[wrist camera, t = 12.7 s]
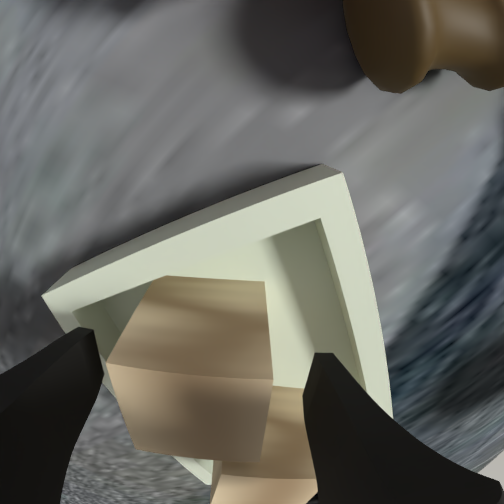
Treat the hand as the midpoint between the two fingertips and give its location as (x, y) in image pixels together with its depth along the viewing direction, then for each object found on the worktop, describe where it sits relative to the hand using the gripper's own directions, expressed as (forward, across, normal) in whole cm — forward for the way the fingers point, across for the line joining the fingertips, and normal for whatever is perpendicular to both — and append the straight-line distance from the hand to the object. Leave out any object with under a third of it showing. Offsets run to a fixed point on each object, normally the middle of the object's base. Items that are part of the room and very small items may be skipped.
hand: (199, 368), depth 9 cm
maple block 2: (+3, -3, +5) cm, 7 cm away
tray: (+3, -2, +2) cm, 5 cm away
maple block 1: (+3, 0, 0) cm, 3 cm away
